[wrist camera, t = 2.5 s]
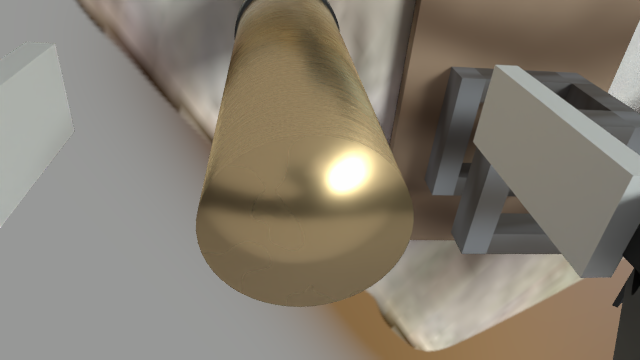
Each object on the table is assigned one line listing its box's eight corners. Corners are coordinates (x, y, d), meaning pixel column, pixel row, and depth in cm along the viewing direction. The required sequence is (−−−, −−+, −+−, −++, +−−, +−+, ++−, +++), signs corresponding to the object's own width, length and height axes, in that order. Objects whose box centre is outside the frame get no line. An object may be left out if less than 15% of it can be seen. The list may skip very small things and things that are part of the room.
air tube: (245, -55, 26) (180, 125, 7) (321, -49, 26) (441, 134, 8) (246, 23, 28) (197, 311, 9) (315, 27, 28) (398, 308, 10)
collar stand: (423, -39, 27) (482, -5, 19) (645, -22, 28) (779, 15, 21) (373, 231, 38) (399, 320, 30) (536, 232, 39) (599, 317, 32)
